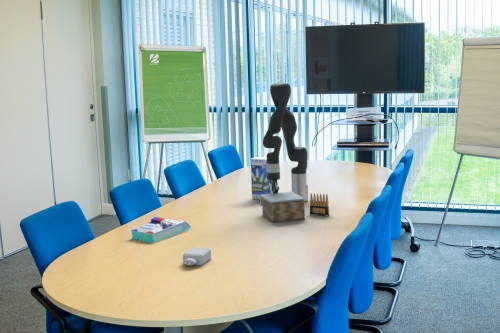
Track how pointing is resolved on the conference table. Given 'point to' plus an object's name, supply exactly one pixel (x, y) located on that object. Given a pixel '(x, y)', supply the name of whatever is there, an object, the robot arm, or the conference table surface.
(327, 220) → the conference table surface
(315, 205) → the ammunition clip
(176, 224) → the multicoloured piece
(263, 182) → the string lights box
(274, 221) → the walnut box
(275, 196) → the box lid
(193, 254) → the charger
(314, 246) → the conference table surface
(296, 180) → the robot arm
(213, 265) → the conference table surface
